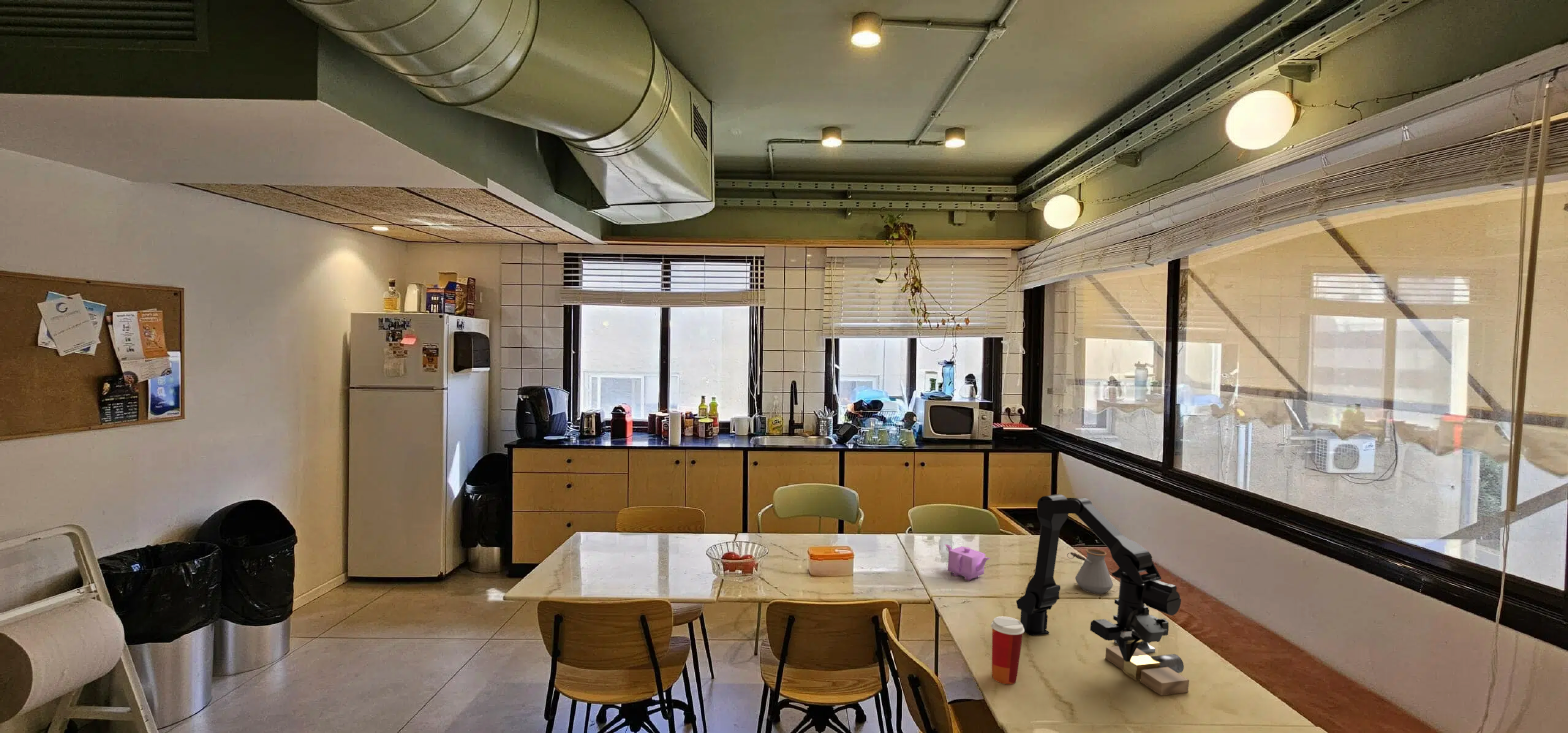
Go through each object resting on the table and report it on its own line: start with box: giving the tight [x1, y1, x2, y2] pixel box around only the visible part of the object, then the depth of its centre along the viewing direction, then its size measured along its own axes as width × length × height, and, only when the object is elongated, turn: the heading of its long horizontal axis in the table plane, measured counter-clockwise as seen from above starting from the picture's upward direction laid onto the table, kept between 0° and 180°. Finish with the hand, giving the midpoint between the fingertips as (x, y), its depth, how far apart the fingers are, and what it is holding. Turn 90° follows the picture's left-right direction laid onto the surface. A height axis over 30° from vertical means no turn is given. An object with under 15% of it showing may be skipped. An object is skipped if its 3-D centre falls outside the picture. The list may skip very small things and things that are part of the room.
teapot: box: [944, 544, 992, 581], centre depth 232 cm, size 18×13×10 cm
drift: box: [1122, 654, 1160, 681], centre depth 168 cm, size 7×4×4 cm, turn 106°
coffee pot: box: [1066, 548, 1114, 595], centre depth 221 cm, size 21×12×15 cm, turn 125°
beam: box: [1104, 645, 1190, 696], centre depth 168 cm, size 8×18×3 cm, turn 16°
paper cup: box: [990, 615, 1025, 685], centre depth 163 cm, size 8×8×14 cm
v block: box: [1113, 640, 1156, 654], centre depth 183 cm, size 7×7×4 cm
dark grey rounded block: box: [1150, 653, 1185, 674], centre depth 170 cm, size 7×4×4 cm, turn 106°
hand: (1126, 661), depth 166 cm, fingers closed
